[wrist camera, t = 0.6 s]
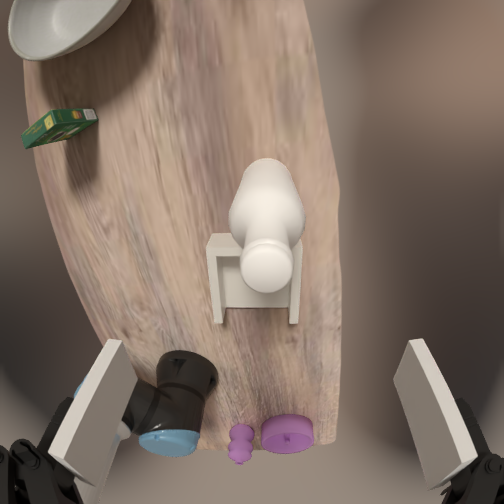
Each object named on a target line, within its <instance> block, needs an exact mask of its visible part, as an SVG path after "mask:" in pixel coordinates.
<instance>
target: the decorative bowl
mask: <svg viewBox="0 0 504 504" xmlns="http://www.w3.org/2000/svg"><path fill="white" fill-rule="evenodd" d="M131 1H132V0H14V3H13V5H12V8H11V12H10V16H9V22H8V36H9V41H10V44H11V46H12V49H13V50H14V52H15V53H16V54H17V55H18V56H19V57H21V58H23V59H25V60H29V61H44V60H49V59H53V58H56V57H60V56H63V55H65V54H68V53H71V52H73V51H75V50H77V49H79V48H81V47H83V46H85V45H87V44H88V43H90V42H91V41H93V40H95V39H96V38H97V37H99V36H100V35H101V34H103V33H104V32H105V31H106V30H108V29H109V28H110V27H111V26H112V25H113V24H114V23H115V22H116V21H117V20H118V19H119V18H120V16H121V15H122V14H123V13H124V11H125V10H126V9H127V7H128V6H129V4H130V3H131Z"/></svg>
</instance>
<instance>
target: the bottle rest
mask: <svg viewBox="0 0 504 504" xmlns="http://www.w3.org/2000/svg"><path fill="white" fill-rule="evenodd" d="M242 251H243V249H242V248H241V247H240V246H239V245H238V244H237V242H236V241H235V240H234V238H233V236H232V233H212V235H211V237H210V240H209V242H208V244H207V246H206V254H207V264H208V273H209V282H210V291H211V299H212V307H213V315H214V323H223V319H224V315H225V310H226V307H240V308H288V313H289V324H298V315H299V301H300V286H301V270H302V251H303V247H302V243H301V239H299V241H298V243H297V244H296V245H295V246H294V247H293V248H292V249H291V251H292V255H293V258H294V267H293V274H292V278H291V280H290V282H289V283H288V285H286V286H285V287H284V288H283V289H282V290H279V291H277V292H274V293H266V294H265V293H260V292H256V291H254V290H252V289H251V288H249V287H248V286H247V285H246V284H245V283H244V282H243V279H242V277H241V269H240V255H241V253H242Z"/></svg>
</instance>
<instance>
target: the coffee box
mask: <svg viewBox="0 0 504 504" xmlns="http://www.w3.org/2000/svg"><path fill="white" fill-rule="evenodd" d="M96 121H98V118H97V115H96V113H95V110H94V109H52V110H50V111H49V112H47V113H46V114H45V115H44V116H43V117H41V118H40V119H39V120H38V121H36V122H35V123H34V124H33V125H32V126H31V127H29V128H28V129H27V130H26V131H25V132H24V133H23V134H22V135H21V137H22V141H23V144H24V147H25V149H28V148H32V147H36V146H40V145H44V144H48V143H53V142H57V141H62V140H67V139H70V138H71V137H73V136H74V135H76V134H77V133H79V132H80V131H82V130H83V129H85V128H86V127H88V126H90V125H91V124H93V123H94V122H96Z"/></svg>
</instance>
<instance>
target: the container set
mask: <svg viewBox="0 0 504 504" xmlns="http://www.w3.org/2000/svg"><path fill="white" fill-rule="evenodd" d="M229 436H230V439H231V440H232V441H231V442H230V443H229V445H228V449H229V453H228V456H229V458H230V459H232V460H234V461H236V462H235V463H236V464H237V465H242V464H243V462H245V461H248V460H249V459H251V457H252V455H251V452H252V451H253V446H252V444H251V443H250V442H251V441H252V440H253V438H254V431H253V430H252V429H251V428H250V427H249V426H248V425H245V424H238V425H235V426H234V427H233V428H232V429H231V430H230V432H229ZM313 443H314V436H313V426H312V422H311V420H310V419H308V418H307V417H305V416H301V415H295V414H284V415H278V416H274V417H272V418H269V419H268V420H266V421H265V422H264V423H263V424H262V436H261V445H262V447H263V448H264V449H265V450H267V451H270V452H273V453H280V454H289V453H296V452H300V451H303V450H306V449H308V448H309V447H310V446H312V445H313Z"/></svg>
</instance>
